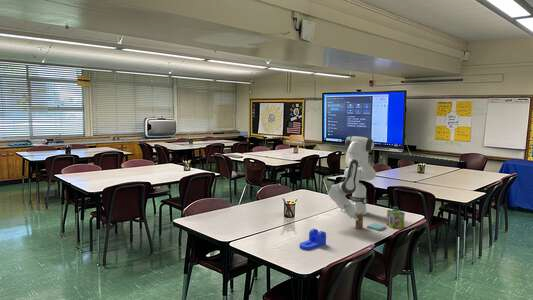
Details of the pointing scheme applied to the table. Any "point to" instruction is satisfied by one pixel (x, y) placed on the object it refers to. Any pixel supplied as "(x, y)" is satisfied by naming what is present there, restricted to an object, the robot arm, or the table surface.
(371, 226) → the teal pad
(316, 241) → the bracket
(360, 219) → the walnut block
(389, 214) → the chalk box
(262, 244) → the table surface
